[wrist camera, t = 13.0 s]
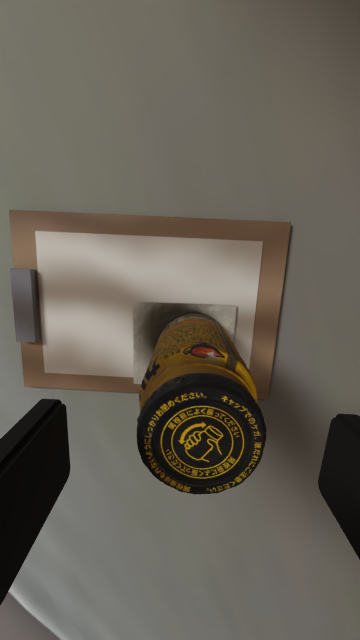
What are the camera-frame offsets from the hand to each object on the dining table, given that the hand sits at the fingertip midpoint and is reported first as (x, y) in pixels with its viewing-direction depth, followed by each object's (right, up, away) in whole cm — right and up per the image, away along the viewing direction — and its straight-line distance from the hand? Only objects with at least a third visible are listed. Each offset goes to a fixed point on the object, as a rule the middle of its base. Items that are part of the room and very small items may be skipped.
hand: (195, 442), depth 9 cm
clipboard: (-3, +5, +13) cm, 14 cm away
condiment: (0, +2, +13) cm, 13 cm away
